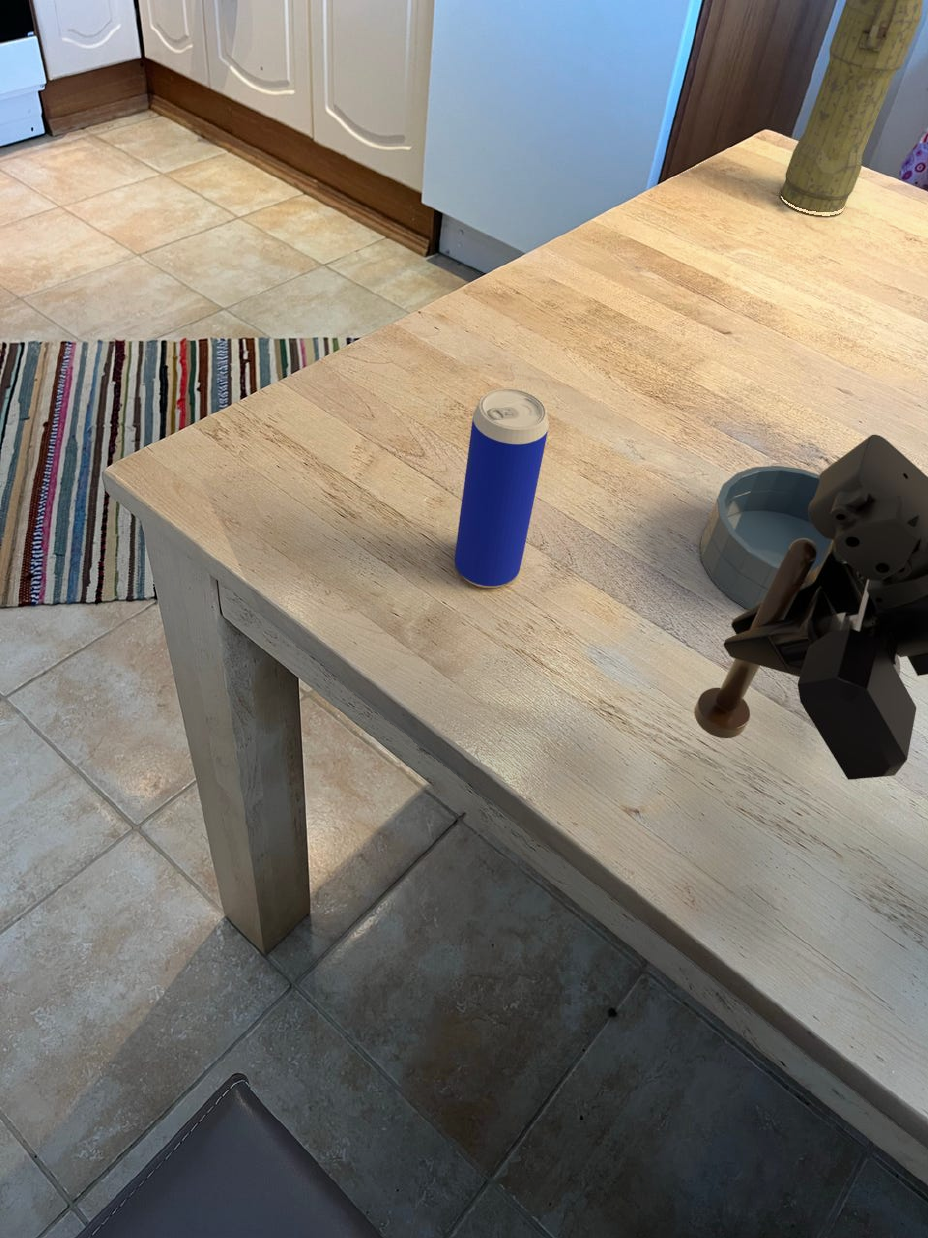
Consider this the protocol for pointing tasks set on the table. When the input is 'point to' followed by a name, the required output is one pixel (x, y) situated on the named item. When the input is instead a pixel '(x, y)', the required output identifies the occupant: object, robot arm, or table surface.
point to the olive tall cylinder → (849, 101)
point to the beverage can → (500, 486)
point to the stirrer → (726, 706)
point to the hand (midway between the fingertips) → (731, 638)
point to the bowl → (758, 529)
